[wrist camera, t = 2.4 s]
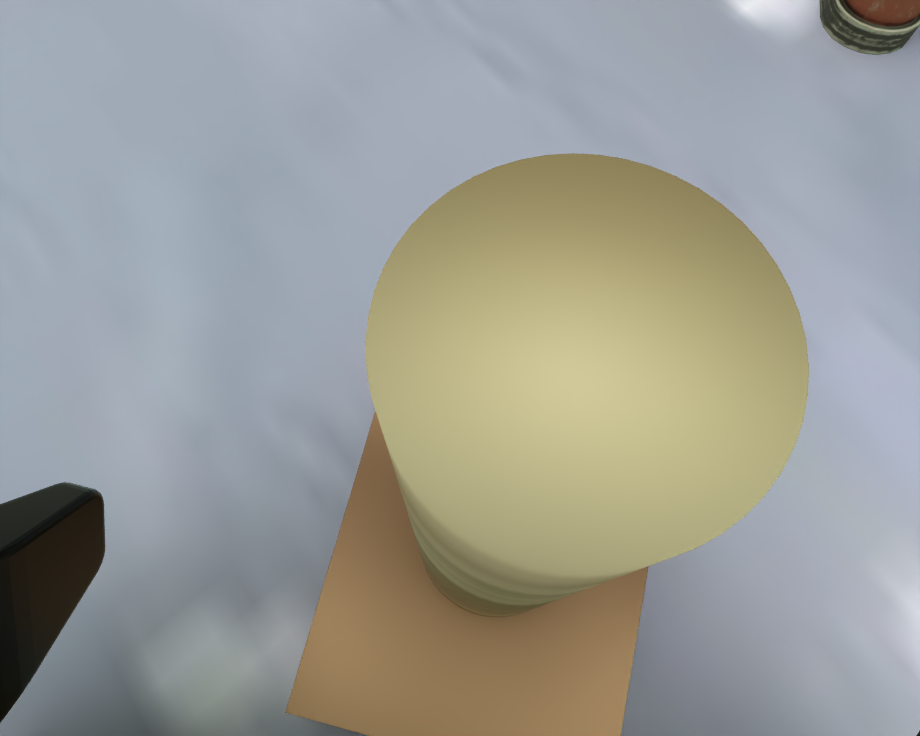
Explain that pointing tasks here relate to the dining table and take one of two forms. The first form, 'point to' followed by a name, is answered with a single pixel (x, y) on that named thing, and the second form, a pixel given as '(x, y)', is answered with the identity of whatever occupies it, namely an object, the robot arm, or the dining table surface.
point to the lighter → (871, 23)
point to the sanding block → (546, 446)
